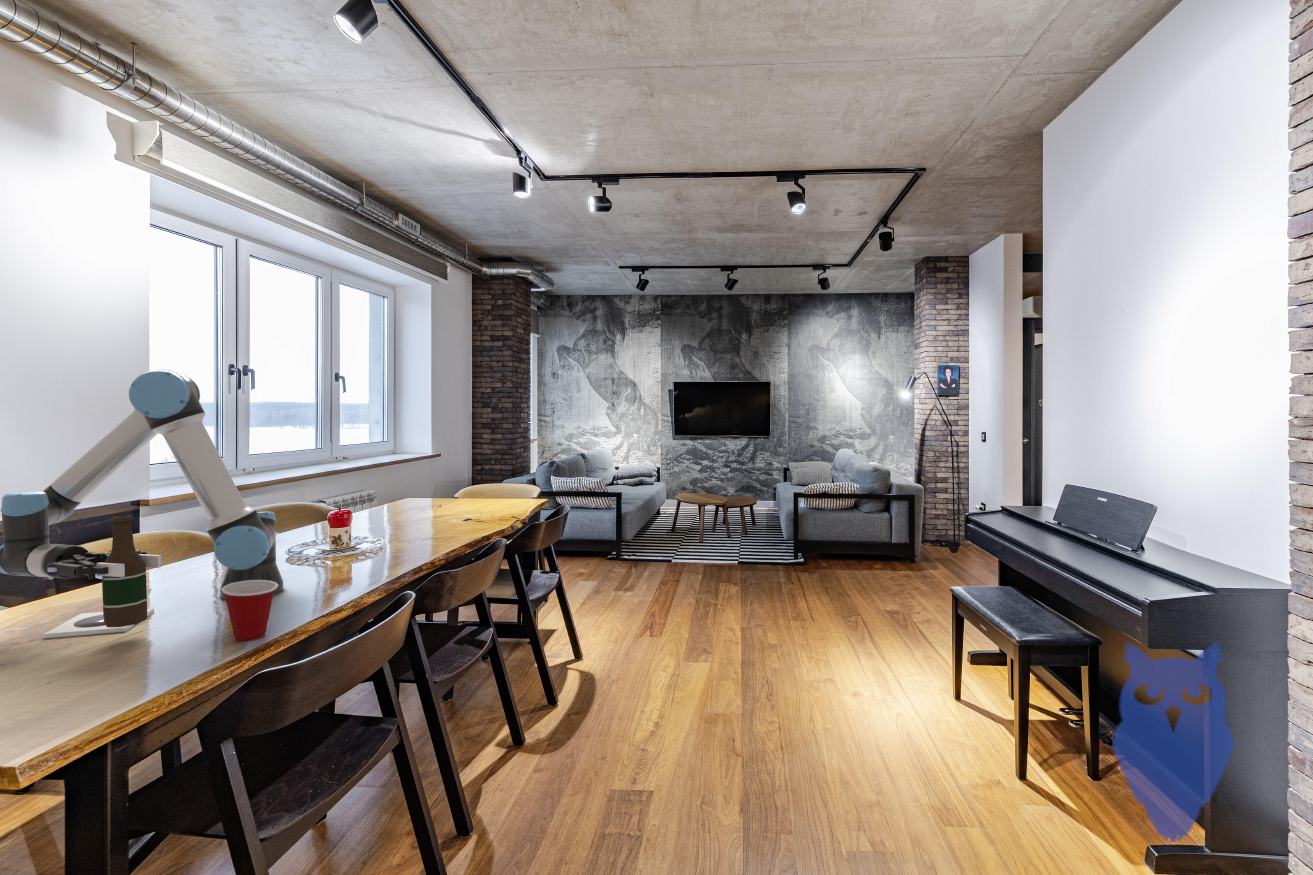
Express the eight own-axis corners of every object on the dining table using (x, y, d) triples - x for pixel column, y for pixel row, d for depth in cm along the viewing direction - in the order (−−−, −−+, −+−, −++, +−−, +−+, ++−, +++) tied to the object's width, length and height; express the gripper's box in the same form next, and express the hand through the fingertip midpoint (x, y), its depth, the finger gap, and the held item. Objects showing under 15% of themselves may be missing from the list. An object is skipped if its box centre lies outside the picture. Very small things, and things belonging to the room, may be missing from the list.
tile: (154, 611, 158) (154, 607, 158) (125, 631, 144) (125, 626, 144) (81, 617, 153) (80, 612, 153) (43, 638, 139) (43, 633, 139)
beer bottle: (156, 618, 142) (152, 514, 141) (117, 629, 134) (113, 520, 133) (133, 614, 144) (130, 512, 143) (94, 625, 137) (90, 518, 136)
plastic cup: (251, 647, 135) (250, 593, 134) (209, 643, 137) (208, 589, 136) (290, 630, 145) (289, 580, 145) (251, 627, 148) (250, 577, 147)
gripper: (107, 566, 152) (185, 570, 148) (7, 589, 132) (92, 595, 128) (106, 536, 152) (184, 539, 148) (5, 554, 132) (91, 559, 128)
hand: (141, 565), depth 138 cm, fingers closed on beer bottle, 7 cm apart
